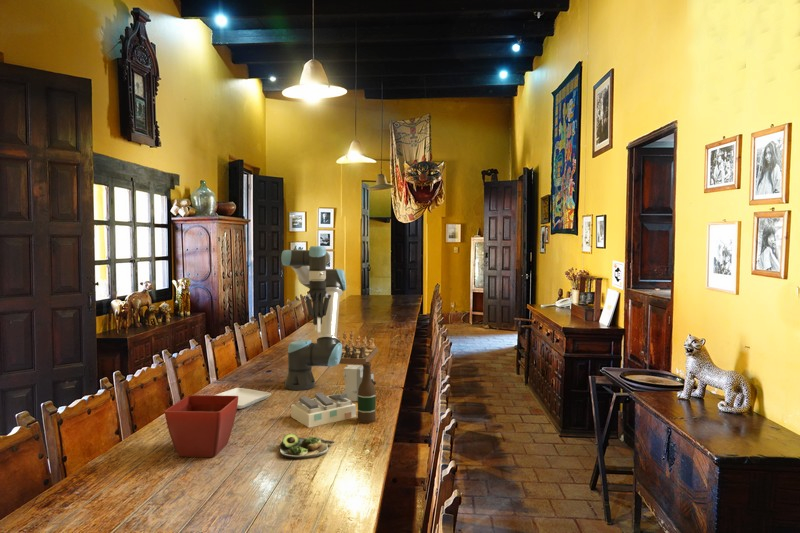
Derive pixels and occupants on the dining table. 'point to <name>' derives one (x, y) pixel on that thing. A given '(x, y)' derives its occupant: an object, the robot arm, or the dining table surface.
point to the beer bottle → (366, 396)
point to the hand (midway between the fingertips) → (317, 331)
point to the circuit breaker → (353, 381)
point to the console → (323, 412)
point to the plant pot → (201, 424)
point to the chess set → (356, 350)
